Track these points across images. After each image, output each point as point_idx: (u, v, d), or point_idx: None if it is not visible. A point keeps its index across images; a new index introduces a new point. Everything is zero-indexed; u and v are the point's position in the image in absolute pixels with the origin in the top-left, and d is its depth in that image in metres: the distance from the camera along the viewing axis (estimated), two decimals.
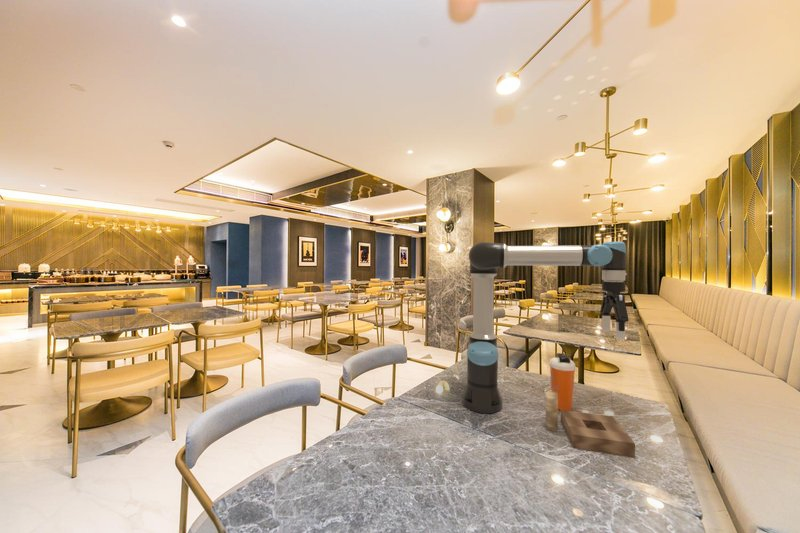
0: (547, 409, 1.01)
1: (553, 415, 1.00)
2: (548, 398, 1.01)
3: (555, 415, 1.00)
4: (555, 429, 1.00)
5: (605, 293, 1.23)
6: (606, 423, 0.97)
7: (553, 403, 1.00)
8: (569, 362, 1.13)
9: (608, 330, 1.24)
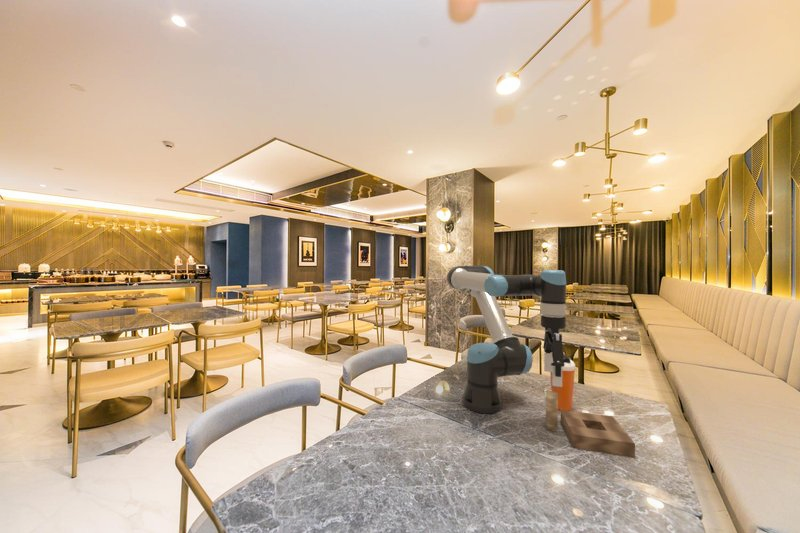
0: (547, 409, 1.01)
1: (553, 415, 1.00)
2: (548, 398, 1.01)
3: (555, 415, 1.00)
4: (555, 429, 1.00)
5: (547, 327, 1.07)
6: (606, 423, 0.97)
7: (553, 403, 1.00)
8: (569, 362, 1.13)
9: (550, 370, 1.07)
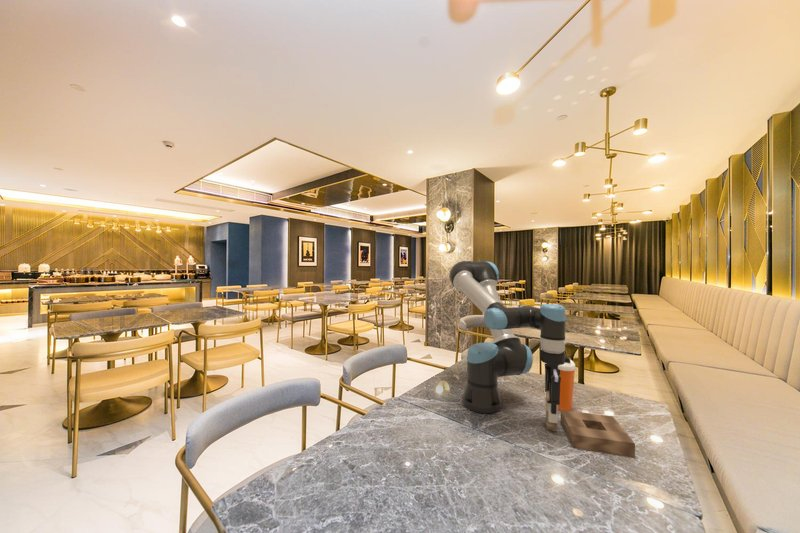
0: (547, 409, 1.01)
1: None
2: (548, 398, 1.01)
3: None
4: (555, 429, 1.00)
5: (546, 364, 1.07)
6: (606, 423, 0.97)
7: None
8: (569, 362, 1.13)
9: None
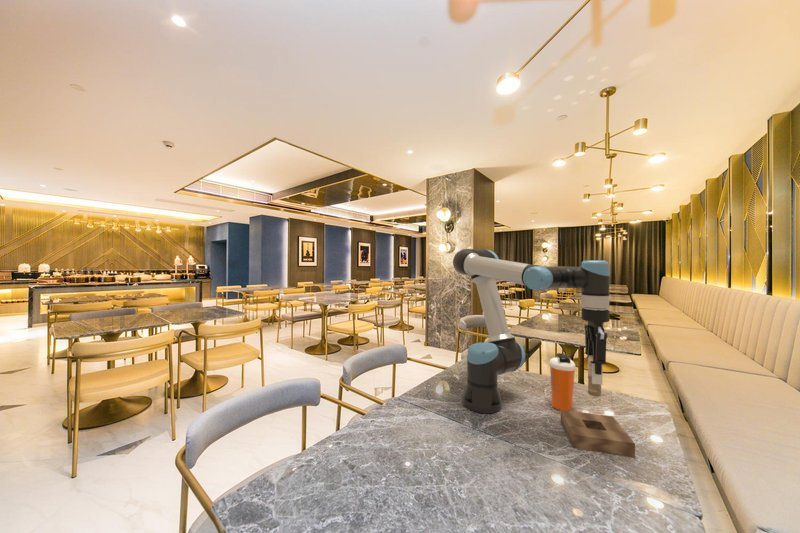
0: (590, 374, 0.96)
1: None
2: None
3: None
4: (599, 395, 0.95)
5: (586, 326, 1.02)
6: (606, 423, 0.97)
7: None
8: (569, 362, 1.13)
9: None
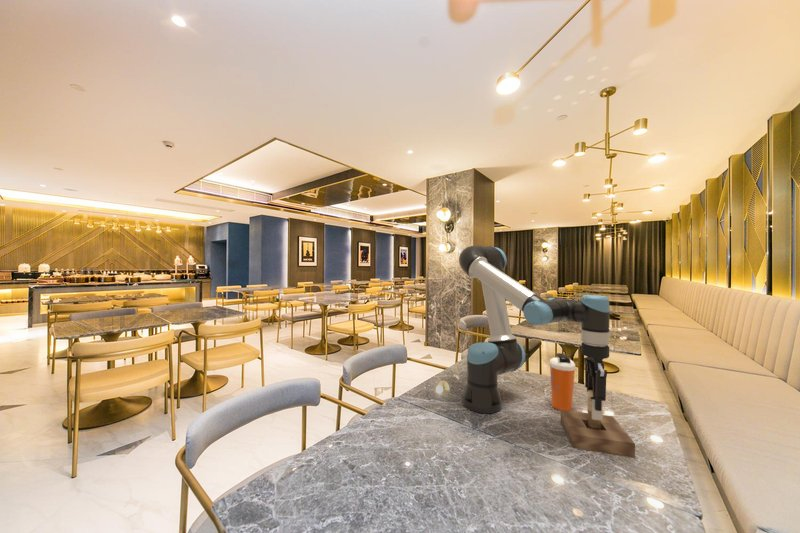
0: (590, 409, 0.96)
1: None
2: None
3: None
4: None
5: (586, 359, 1.02)
6: (606, 423, 0.97)
7: None
8: (569, 362, 1.13)
9: None
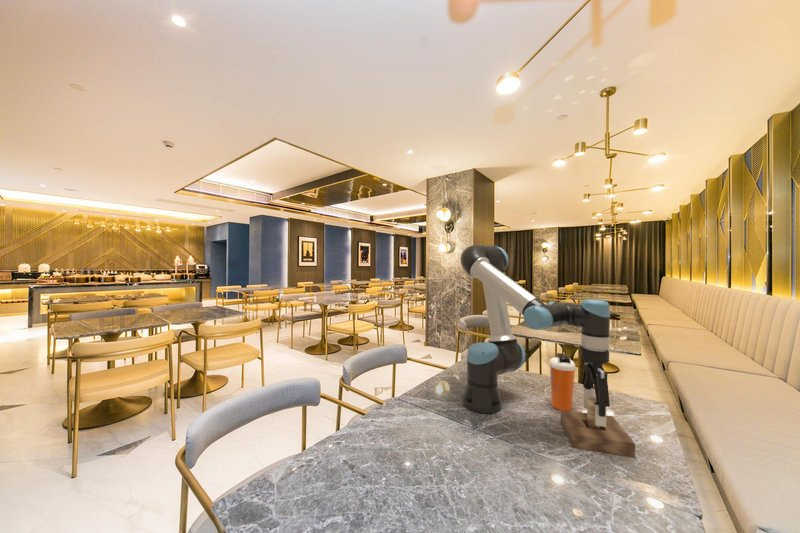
0: (589, 417, 0.96)
1: None
2: (590, 405, 0.96)
3: None
4: None
5: None
6: (606, 423, 0.97)
7: None
8: (569, 362, 1.13)
9: None
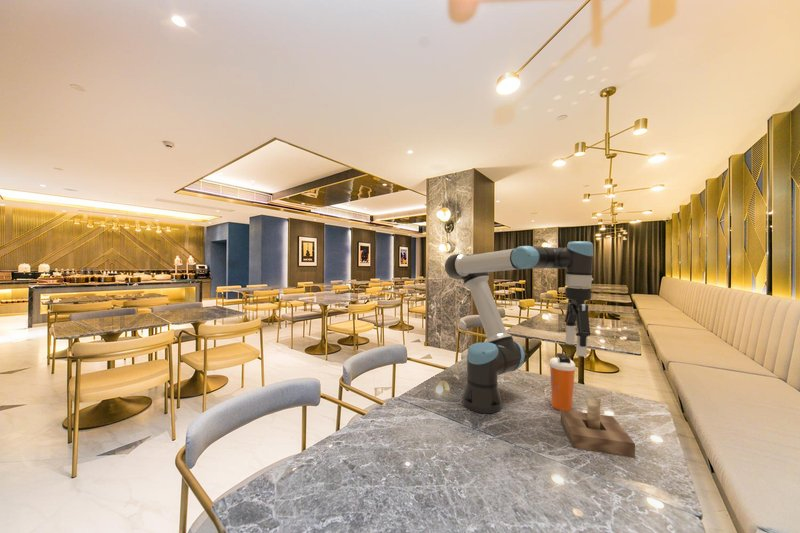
0: (589, 417, 0.96)
1: (596, 423, 0.95)
2: (590, 405, 0.96)
3: (598, 423, 0.95)
4: None
5: (570, 300, 1.07)
6: (606, 423, 0.97)
7: (596, 411, 0.95)
8: (569, 362, 1.13)
9: (572, 342, 1.08)
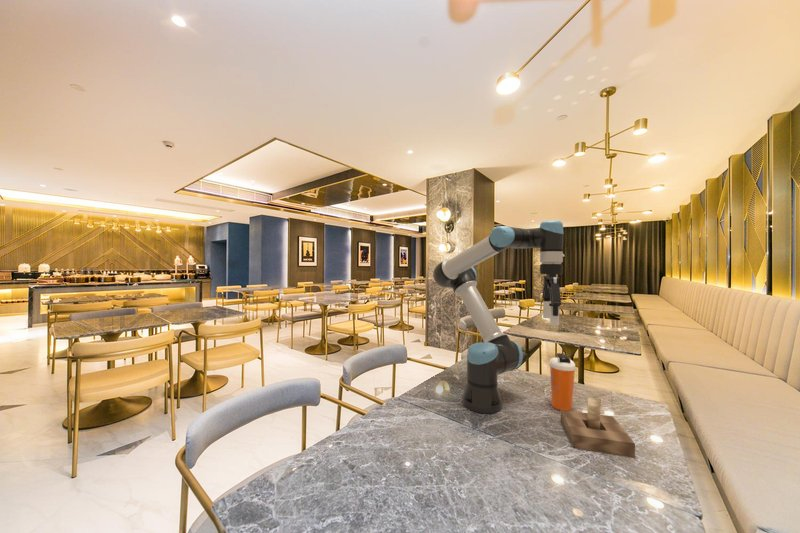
0: (589, 417, 0.96)
1: (596, 423, 0.95)
2: (590, 405, 0.96)
3: (598, 423, 0.95)
4: None
5: (545, 277, 1.15)
6: (606, 423, 0.97)
7: (596, 411, 0.95)
8: (569, 362, 1.13)
9: (549, 317, 1.16)
